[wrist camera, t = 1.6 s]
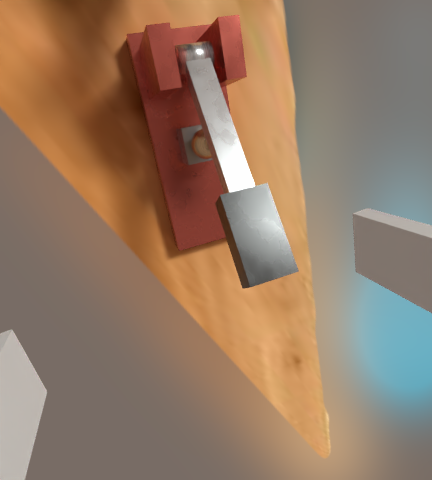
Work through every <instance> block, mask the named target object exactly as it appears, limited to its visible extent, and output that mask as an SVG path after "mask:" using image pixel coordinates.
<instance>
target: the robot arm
mask: <svg viewBox="0 0 432 480" xmlns="http://www.w3.org/2000/svg"><path fill="white" fill-rule="evenodd" d="M353 229H354V247H355V267H356V272H357V273H359V274H361V275H363V276H365V277H367V278H368V279H370V280H372V281H374V282H376V283H378V284H379V285H381V286H383V287H385V288H387V289H389V290H390V291H392V292H394V293H396V294H398V295H400V296H402V297H403V298H405V299H407V300H409V301H411V302H412V303H414V304H416V305H418V306H420V307H422V308H424V309H425V310H427V311H429V312H431V313H432V226H431V225H428V224H424V223H420V222H417V221H413V220H409V219H406V218H402V217H398V216H394V215H391V214H387V213H384V212H380V211H376V210H372V209H369V208H367V209H365V210H361V211H358V212H356V213H353ZM46 394H47V390H46V389H45V387H44V385H43V383H42V382H41V380H40V378H39V376H38V374H37V373H36V371H35V369H34V367H33V366H32V364H31V362H30V360H29V359H28V357H27V355H26V353H25V351H24V350H23V348H22V346H21V344H20V343H19V341H18V339H17V337H16V335H15V334H14V332H13V330H9V331H6V332H3V333H0V480H25V477H26V473H27V469H28V465H29V461H30V457H31V453H32V449H33V445H34V441H35V438H36V434H37V430H38V426H39V421H40V418H41V414H42V410H43V406H44V402H45V398H46Z"/></svg>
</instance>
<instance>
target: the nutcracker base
mask: <svg viewBox="0 0 432 480" xmlns="http://www.w3.org/2000/svg"><path fill="white" fill-rule="evenodd" d="M126 41H127V45H128V49H129V53H130V57H131V61H132V66H133V70H134V74H135V78H136V82H137V86H138V90H139V94H140V99H141V103H142V107H143V111H144V115H145V119H146V123H147V127H148V131H149V136H150V140H151V144H152V148H153V152H154V156H155V160H156V164H157V169H158V173H159V177H160V181H161V185H162V189H163V193H164V197H165V202H166V206H167V210H168V214H169V218H170V222H171V226H172V230H173V235H174V239H175V243H176V246H177V248H178V250H179V251H180V250H184V249H187V248H191V247H194V246H198V245H201V244H205V243H208V242H212V241H215V240H219V239H222V238H226V236H225V233H224V230H223V227H222V224H221V221H220V218H219V214H218V211H217V208H216V205H215V203H216V201H217V199H218V198H219V196H220V195H222V194H224V192H223V189H222V186H221V183H220V180H219V177H218V174H217V171H216V168H215V165H214V162H213V159H212V156H211V153H210V150H209V147H208V144H207V141H206V138H205V135H204V132H203V129H202V126H201V123H200V120H199V117H198V114H197V111H196V108H195V105H194V102H193V99H192V96H191V93H190V90H189V87H188V84H187V81H186V78H185V75H184V74H181V75H180V74H179V69H178V64H177V59H176V54H175V45H181V44H189V43H197V42H204V41H210V42H211V44H212V46H213V50H214V60H215V61H214V70H215V73H216V75H217V78H218V81H219V84H220V87H221V90H222V93H223V95H224V98H225V101H226V104H227V107H228V110H229V113H230V109H229V102H228V95H227V89H226V86H227V85H229V84H231V83H234V82H236V81H238V80H240V79H243V78H245V77H247V76H246V68H245V60H244V52H243V44H242V36H241V28H240V20H239V15H233V16H224V17H218V18H217V19H216V20H215V21H214V22H213V23H212V24H210V25H201V26H193V27H184V28H176V29H171V28H170V23H162V24H154V25H146V27H145V31H144V32H142V33H133V34H127V38H126Z"/></svg>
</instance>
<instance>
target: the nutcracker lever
mask: <svg viewBox="0 0 432 480" xmlns="http://www.w3.org/2000/svg"><path fill="white" fill-rule="evenodd" d="M175 54H176V59H177V64H178V69H179V74H180V75H181V74H184V75H185V78H186V81H187V84H188V87H189V90H190V93H191V96H192V99H193V102H194V105H195V108H196V111H197V114H198V117H199V120H200V123H201V126H202V129H203V132H204V135H205V138H206V141H207V144H208V147H209V150H210V153H211V156H212V159H213V162H214V165H215V168H216V171H217V174H218V177H219V180H220V183H221V186H222V189H223V192H224V194H222V195H220V196H219V198H218V199H217V201H216V203H215V205H216V208H217V211H218V214H219V218H220V221H221V224H222V227H223V230H224V233H225V236H226V239H227V242H228V245H229V248H230V251H231V254H232V257H233V260H234V263H235V266H236V270H237V273H238V276H239V279H240V282H241V285H242V288H249V287H253V286H256V285H259V284H262V283H265V282H268V281H271V280H274V279H277V278H280V277H283V276H286V275H289V274H292V273H295V272H298V268H297V265H296V262H295V259H294V257H293V254H292V251H291V248H290V245H289V243H288V240H287V237H286V234H285V231H284V228H283V226H282V223H281V220H280V217H279V214H278V212H277V209H276V206H275V203H274V200H273V197H272V195H271V192H270V189H269V186H268V183H266V184H262V185H258V186H255V184H254V182H253V179H252V176H251V173H250V170H249V167H248V164H247V161H246V159H245V156H244V153H243V150H242V147H241V144H240V141H239V139H238V136H237V133H236V130H235V127H234V124H233V121H232V118H231V116H230V113H229V110H228V107H227V104H226V101H225V98H224V95H223V93H222V90H221V87H220V84H219V81H218V78H217V75H216V73H215V70H214V61H215V60H214V50H213V46H212V44H211V42H210V41H204V42H197V43H189V44H181V45H175Z"/></svg>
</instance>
